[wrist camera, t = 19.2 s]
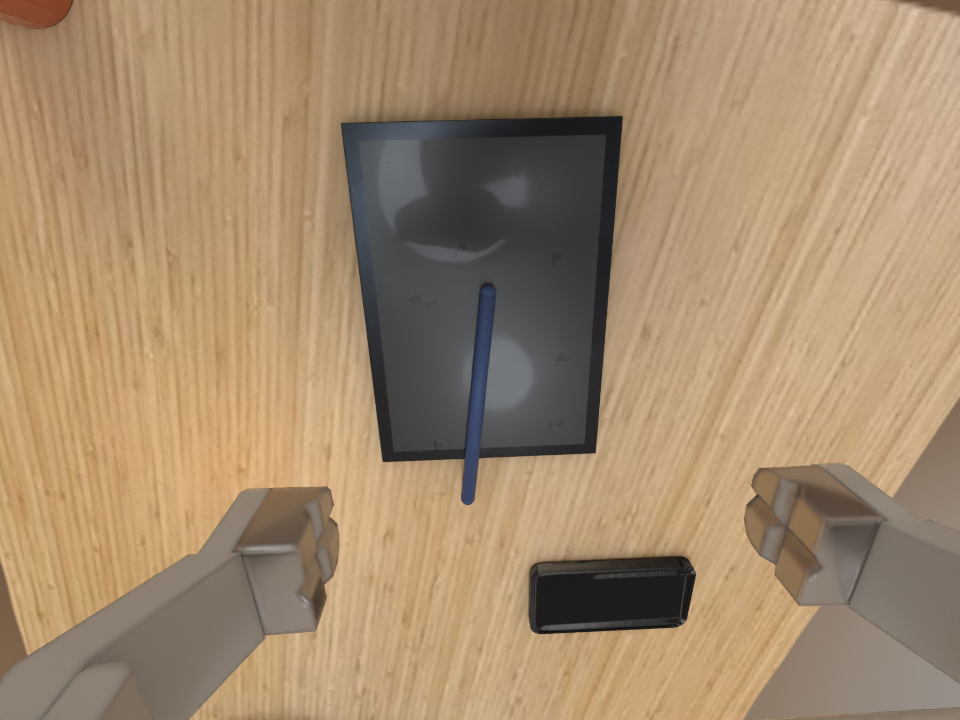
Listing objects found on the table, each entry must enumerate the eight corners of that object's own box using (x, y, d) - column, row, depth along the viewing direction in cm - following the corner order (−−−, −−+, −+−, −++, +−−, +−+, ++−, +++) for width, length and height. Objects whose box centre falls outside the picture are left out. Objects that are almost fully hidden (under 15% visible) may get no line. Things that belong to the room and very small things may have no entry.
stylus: (484, 287, 30) (462, 508, 37) (499, 287, 30) (475, 506, 37) (478, 283, 31) (458, 500, 38) (493, 283, 31) (471, 498, 38)
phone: (685, 627, 44) (530, 635, 44) (679, 616, 45) (528, 624, 45) (698, 564, 41) (531, 572, 41) (692, 555, 42) (530, 562, 42)
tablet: (344, 124, 28) (340, 122, 27) (618, 117, 29) (623, 115, 28) (384, 455, 37) (382, 463, 36) (592, 446, 38) (596, 454, 37)
